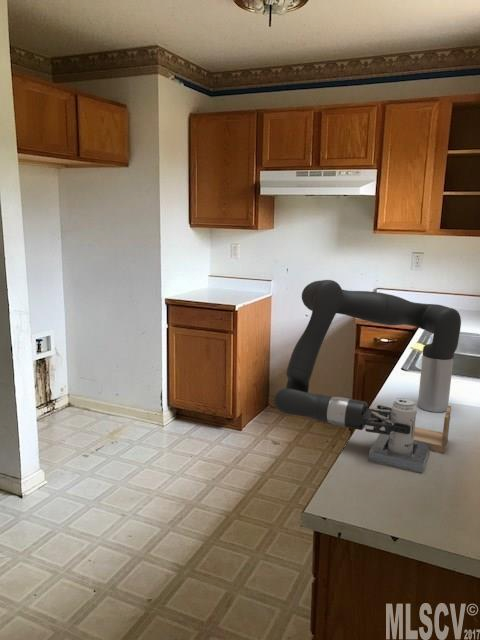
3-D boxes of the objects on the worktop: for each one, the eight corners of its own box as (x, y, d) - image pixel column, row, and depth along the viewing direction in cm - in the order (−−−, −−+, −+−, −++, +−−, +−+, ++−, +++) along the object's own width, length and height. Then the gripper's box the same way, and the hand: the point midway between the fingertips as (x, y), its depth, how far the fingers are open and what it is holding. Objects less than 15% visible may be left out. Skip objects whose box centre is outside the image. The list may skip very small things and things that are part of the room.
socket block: (379, 441, 143) (380, 432, 143) (429, 451, 138) (430, 443, 137) (368, 460, 132) (369, 451, 131) (422, 473, 126) (423, 463, 126)
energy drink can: (409, 463, 131) (415, 407, 128) (385, 458, 134) (390, 402, 130) (413, 454, 136) (418, 399, 133) (390, 449, 139) (394, 395, 136)
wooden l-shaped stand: (413, 433, 149) (417, 400, 147) (447, 440, 145) (451, 406, 143) (408, 445, 141) (411, 410, 139) (443, 453, 137) (447, 417, 135)
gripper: (340, 408, 132) (409, 421, 125) (355, 391, 145) (418, 402, 137) (338, 435, 134) (406, 450, 126) (353, 416, 146) (415, 429, 139)
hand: (412, 425), depth 132 cm, fingers closed on energy drink can, 6 cm apart
